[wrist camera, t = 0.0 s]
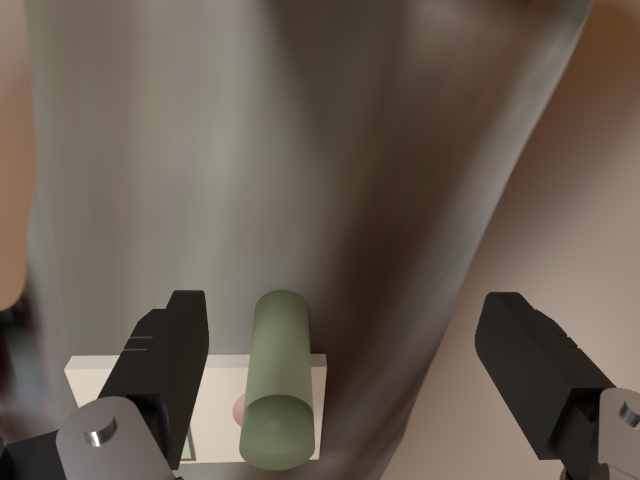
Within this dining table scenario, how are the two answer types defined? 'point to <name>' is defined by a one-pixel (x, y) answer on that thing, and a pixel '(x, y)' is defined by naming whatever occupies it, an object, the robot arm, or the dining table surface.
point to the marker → (279, 386)
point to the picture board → (204, 402)
